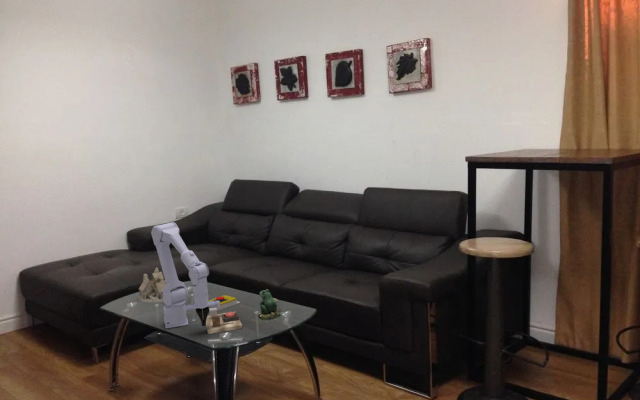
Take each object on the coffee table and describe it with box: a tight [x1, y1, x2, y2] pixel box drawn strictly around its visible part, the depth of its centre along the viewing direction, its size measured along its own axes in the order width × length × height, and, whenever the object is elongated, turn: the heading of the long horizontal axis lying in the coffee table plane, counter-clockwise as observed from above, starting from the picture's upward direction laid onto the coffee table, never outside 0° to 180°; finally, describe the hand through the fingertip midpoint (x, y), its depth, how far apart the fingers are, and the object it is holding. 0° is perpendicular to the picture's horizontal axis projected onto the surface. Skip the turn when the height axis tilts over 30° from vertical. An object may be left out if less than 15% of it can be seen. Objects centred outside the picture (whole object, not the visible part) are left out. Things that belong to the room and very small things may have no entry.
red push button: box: [224, 311, 235, 318], centre depth 235 cm, size 4×4×2 cm
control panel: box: [205, 311, 243, 335], centre depth 234 cm, size 14×18×3 cm
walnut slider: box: [212, 315, 221, 327], centre depth 228 cm, size 3×3×4 cm
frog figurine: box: [251, 288, 281, 323], centre depth 241 cm, size 18×18×12 cm
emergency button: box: [209, 294, 241, 312], centre depth 258 cm, size 9×4×15 cm
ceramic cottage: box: [137, 267, 173, 303], centre depth 274 cm, size 16×16×15 cm
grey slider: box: [209, 308, 218, 318], centre depth 238 cm, size 3×3×4 cm
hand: (203, 325), depth 226 cm, fingers closed
